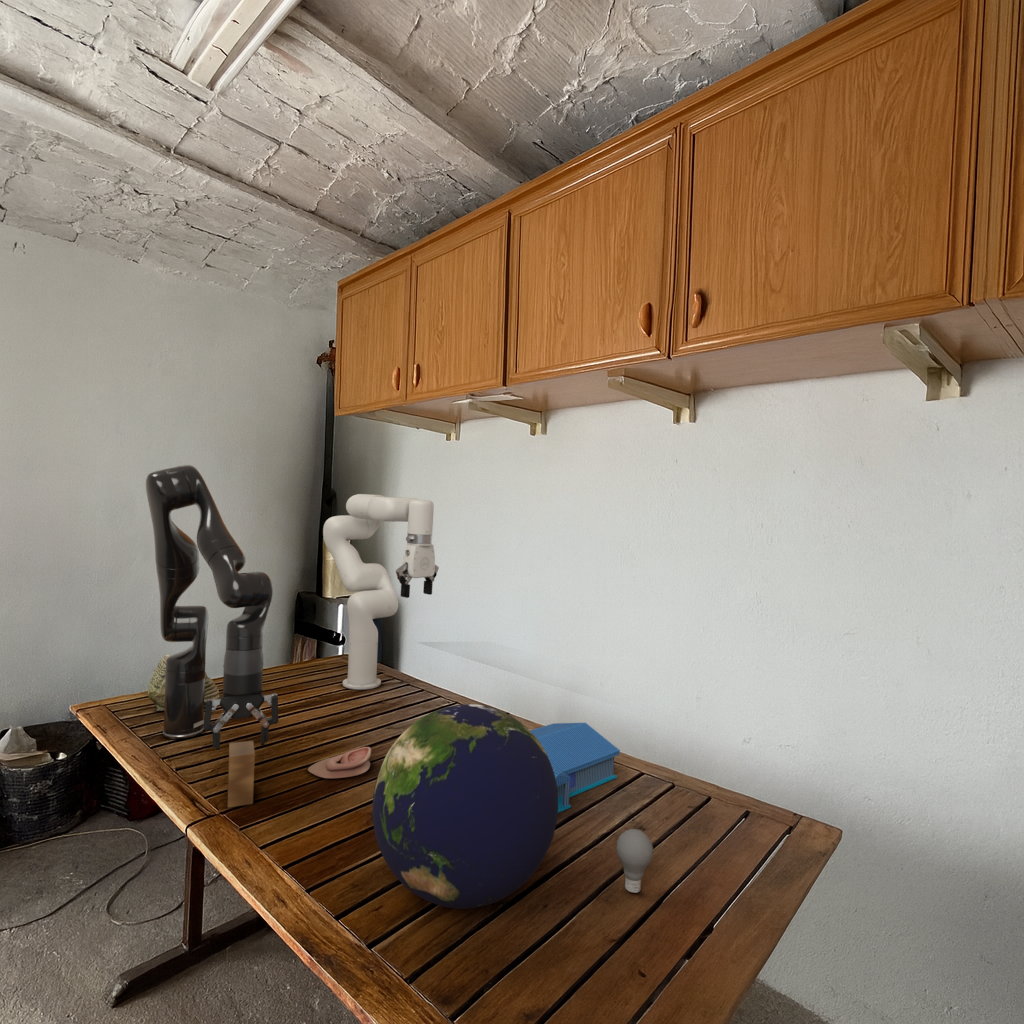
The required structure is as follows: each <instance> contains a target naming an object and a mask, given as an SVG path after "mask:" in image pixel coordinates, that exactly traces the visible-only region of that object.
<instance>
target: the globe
mask: <svg viewBox="0 0 1024 1024" xmlns="http://www.w3.org/2000/svg"><path fill="white" fill-rule="evenodd" d="M530 730H531V729H529V728H527V726H525V725H524V724H523V723H522V722H520V721H519V720H518V719H516V718H515V717H514V716H512V715H510V714H509V713H506V712H504V711H502V710H499V709H497V708H494V707H491V706H487V705H482V704H478V703H477V704H475V703H468V704H467V703H466V704H465V703H464V704H455V705H450V706H449V705H448V706H445V707H442V708H439V709H437V710H434V711H432V712H429V713H428V714H425V715H424V716H422V717H420V719H417V720H416V721H415V722H413V723H412V724H411V725H410V726H408V727H407V728H406V729H405V730H404V731H403V732H402V734H401V735H400V736H398V737H397V738H396V740H395V741H394V742H393V744H392V745H391V747H390V748H389V749H388V751H387V753H386V755H385V757H384V760H383V761H382V763H381V765H380V768H379V771H378V774H377V776H376V781H375V784H374V789H373V796H372V804H371V805H372V807H371V809H372V824H373V829H374V836H375V839H376V843H377V846H378V849H379V852H380V853H381V856H382V858H383V860H384V861H385V863H386V865H387V866H388V868H389V871H391V873H392V874H393V875H394V876H395V878H396V879H397V880H398V881H399V882H400V883H401V884H402V885H403V886H404V887H405V888H406V889H407V890H409V891H410V892H411V893H413V895H415V896H417V897H419V898H421V899H422V900H425V901H426V902H429V903H431V904H434V905H437V906H440V907H444V908H448V909H457V910H465V909H466V910H467V909H469V910H470V909H477V908H481V907H486V906H489V905H492V904H494V903H497V902H499V901H502V900H504V899H505V898H508V896H510V895H512V894H513V893H515V892H516V891H518V890H519V889H520V888H521V887H523V885H524V884H526V883H527V882H528V880H530V879H531V878H532V877H533V875H534V874H535V873H536V871H537V870H538V869H539V867H540V866H541V865H542V862H543V861H544V859H545V857H546V855H547V854H548V851H549V849H550V847H551V844H552V842H553V839H554V836H555V832H556V829H557V828H556V827H557V822H558V816H559V813H558V791H557V784H556V779H555V775H554V772H553V768H552V765H551V763H550V761H549V758H548V756H547V753H546V752H545V750H544V748H543V747H542V745H541V743H540V742H539V741H538V739H537V738H536V737H535V736H534V735H533V734H532V733H531V732H530Z"/></svg>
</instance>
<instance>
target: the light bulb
mask: <svg viewBox="0 0 1024 1024" xmlns="http://www.w3.org/2000/svg"><path fill="white" fill-rule="evenodd" d="M615 849H616V854H617V857H618V859H619V861H620V863H621V865H622V867H623V873H624V874H623V875H624V876H625V878H624V888H625V890H627V891H628V892H630V893H634V894H635V893H639V892H640V891H641V889H642V887H641V886H642V879H643V877H644V875H645V871H646V868H647V867H648V866H649V864H650V863H651V861H652V859H653V855H654V847H653V843H652V841H651V838H649V836H648V835H647V834H646V833H645V832H643V831H642V830H641V829H636V828H629V829H627V830H625V831H623V832H622V833H621V834H620V835H619V837H618V839H617V841H616V847H615Z"/></svg>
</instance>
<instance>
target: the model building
mask: <svg viewBox="0 0 1024 1024" xmlns="http://www.w3.org/2000/svg"><path fill="white" fill-rule="evenodd" d="M529 730H530V732H531V733H532V734H533V735H534V736H535V737H536V738H537V739H538V741H539V742H540V743H541V745H542V747H543V748H544V750H545V752H546V753H547V756H548V758H549V761H550V763H551V765H552V768H553V772H554V775H555V779H556V784H557V791H558V814H559V813H562V812H563V811H566V810H569V809H571V808H572V805H571V804H570V798H572V797H575V796H577V795H580V794H582V793H585V792H587V791H589V790H591V789H594V788H597V787H599V786H601V785H603V784H605V783H609V782H610V781H613V780H615V779H617V778H618V776H617V775H616V774H614V771H615V770H614V768H615V767H614V765H615V757H617V756H620V754H621V750H620V749H619V748H618V747H617V746H616V745H614V744H613V743H612V742H611V741H610V740H607V738H605V737H604V736H603V735H601V734H600V733H599V732H598V731H597V730H596V729H594V728H593V727H592V726H591V725H589V724H588V723H587V722H560V723H559V722H558V723H555V722H554V723H550V724H546V725H544V726H543V725H542V726H540V727H537V728H533V729H529Z"/></svg>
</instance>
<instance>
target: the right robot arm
mask: <svg viewBox="0 0 1024 1024" xmlns="http://www.w3.org/2000/svg"><path fill="white" fill-rule="evenodd" d="M345 509H346V512H347V513H348V514H347V515H335V516H331V517H329V518H328V519H326V520H325V522H324V524H323V528H322V536H323V541H324V544H325V547H326V548H327V550H328V552H329V553H330V555H331V556H332V559H333V560H334V563H335V566H336V569H337V572H338V574H339V578H340V579H341V583H342V584H343V587H344V588H345V590H346V591H348V592H351V593H352V592H353V594H351V595H350V596H349V597H348V599H347V602H346V609H347V615H348V628H349V629H348V655H347V656H348V657H347V660H348V661H347V678H345V679H343V681H342V687H344V688H345V689H349V690H357V691H361V690H362V691H363V690H371V689H375V688H378V687H380V686H381V685H382V681H381V678H379V677H377V675H378V669H377V668H378V652H379V651H378V650H379V649H378V648H379V630H378V628H377V625H376V624H375V622H374V620H375V619H382V618H389V617H392V616H394V615H395V614H396V613H397V611H398V608H399V599H398V595H397V593H396V589H395V588H394V585H393V583H392V580H391V578H390V576H389V573H388V571H387V569H386V568H385V567H384V566H383V565H382V564H381V563H378V562H377V563H376V562H373V563H372V562H369V563H368V562H367V563H365V562H364V561H362V558H361V556H360V553H359V551H358V550H357V549H356V547H355V546H353V544H351V543H350V542H349V541H347V540H367V539H370V538H371V537H372V536H373V535H374V534H375V533H376V531H377V530H378V528H380V526H382V525H381V524H382V523H383V522H389V523H391V522H392V523H393V522H406V523H407V533H406V534H407V536H406V537H405V541H406V543H405V547H404V551H403V555H402V565H401V566H399V567H398V568H397V569H396V570H395V574H396V577H397V580H398V582H399V584H400V597H401V598H404V599H405V598H406V599H408V598H410V595H411V594H410V593H411V584H410V582H411V581H412V579H422V578H424V579H425V580H423V594H425V595H429V596H430V595H433V583H434V582H435V578H436V577H437V576H438V575H437V574H438V572H439V566H438V565H437V564H436V556H435V546H434V544H433V529H434V528H433V527H434V509H435V505H434V502H433V501H432V500H428V499H419V498H415V497H400V496H399V497H398V496H397V497H396V496H385V495H383V494H370V493H369V494H368V493H367V494H366V493H365V494H364V493H357V494H354V495H351V496H350V497H349V498H348V499H347V501H346V503H345Z"/></svg>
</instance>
